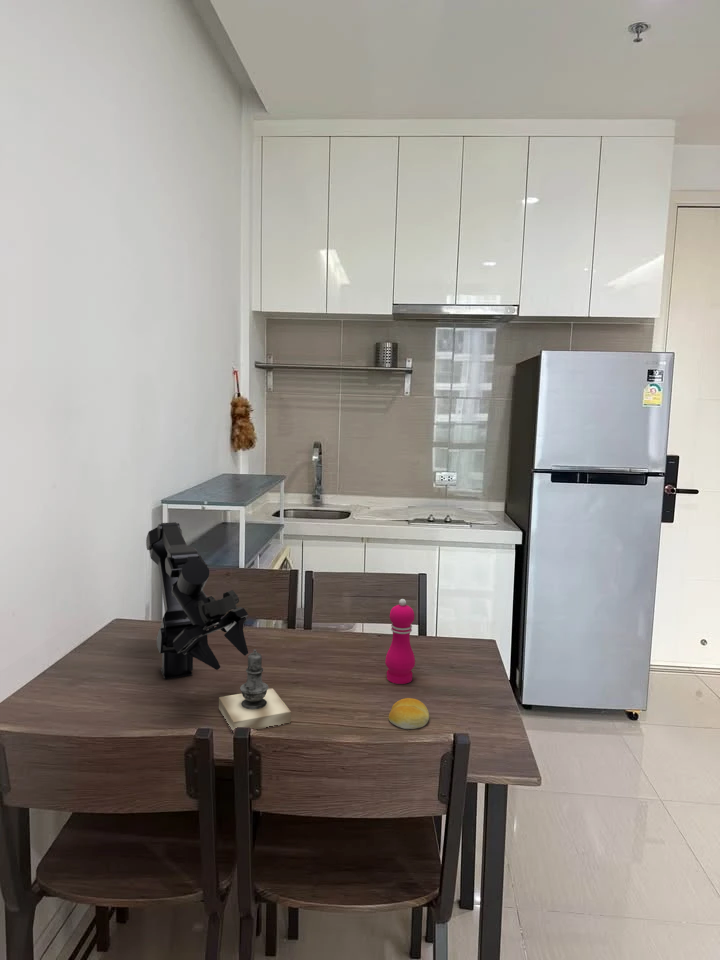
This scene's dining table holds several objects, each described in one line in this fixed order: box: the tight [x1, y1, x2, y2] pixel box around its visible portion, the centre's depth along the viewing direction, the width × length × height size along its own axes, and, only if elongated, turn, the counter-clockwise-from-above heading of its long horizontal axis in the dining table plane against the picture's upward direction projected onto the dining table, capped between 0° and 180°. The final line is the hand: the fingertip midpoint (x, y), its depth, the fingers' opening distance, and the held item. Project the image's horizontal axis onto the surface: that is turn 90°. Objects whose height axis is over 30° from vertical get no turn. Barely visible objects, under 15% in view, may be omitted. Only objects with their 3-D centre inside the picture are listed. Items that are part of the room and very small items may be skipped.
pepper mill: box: [385, 598, 416, 685], centre depth 156 cm, size 7×7×20 cm
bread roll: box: [388, 697, 430, 730], centre depth 136 cm, size 8×9×4 cm
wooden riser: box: [218, 688, 292, 730], centre depth 136 cm, size 12×12×2 cm
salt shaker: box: [239, 648, 269, 709], centre depth 135 cm, size 6×6×12 cm
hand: (233, 661), depth 138 cm, fingers open, 9 cm apart
